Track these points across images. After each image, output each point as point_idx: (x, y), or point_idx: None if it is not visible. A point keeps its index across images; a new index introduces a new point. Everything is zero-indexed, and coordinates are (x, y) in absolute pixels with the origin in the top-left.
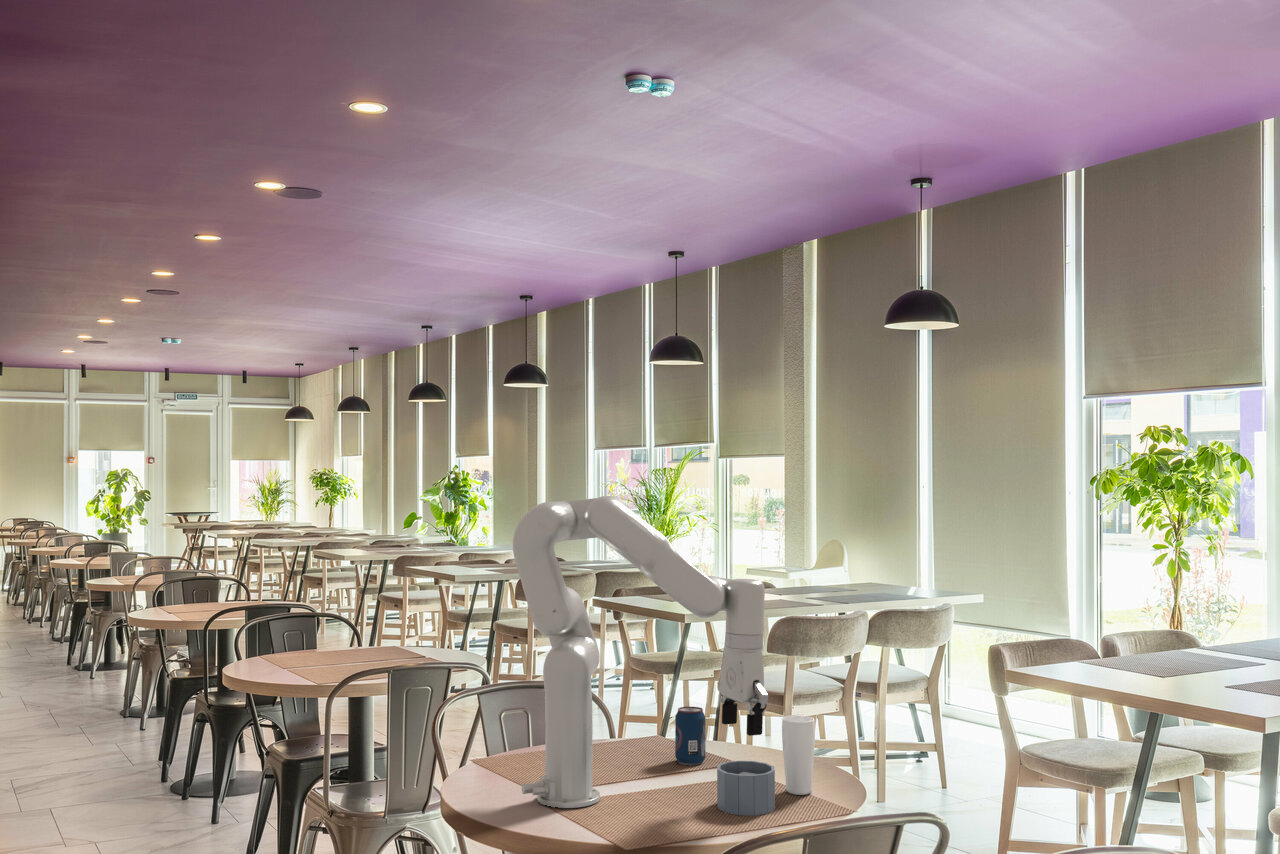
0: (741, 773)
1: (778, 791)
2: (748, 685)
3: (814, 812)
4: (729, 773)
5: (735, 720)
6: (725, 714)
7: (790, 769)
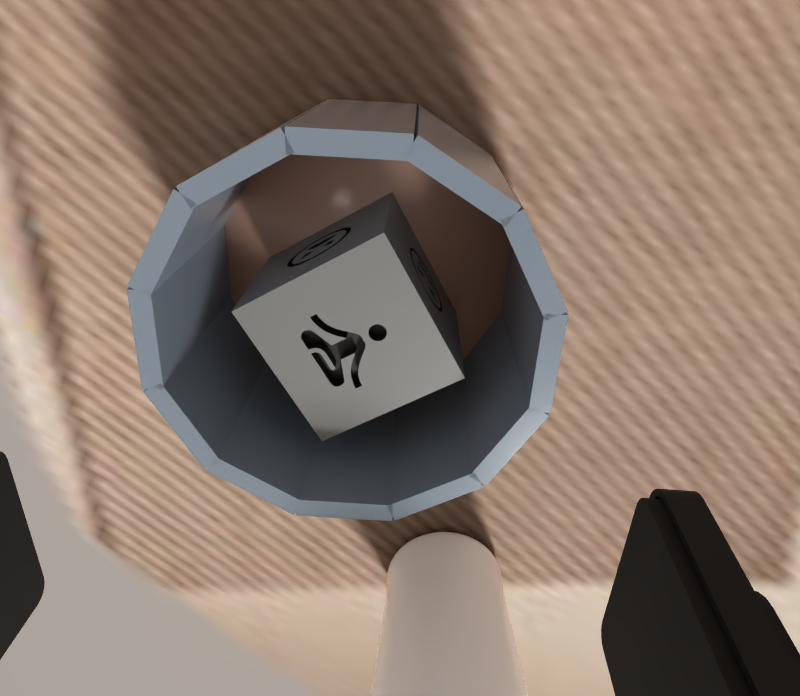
0: (434, 344)
1: (502, 514)
2: None
3: (167, 469)
4: (252, 154)
5: (612, 652)
6: (686, 621)
7: (426, 616)
